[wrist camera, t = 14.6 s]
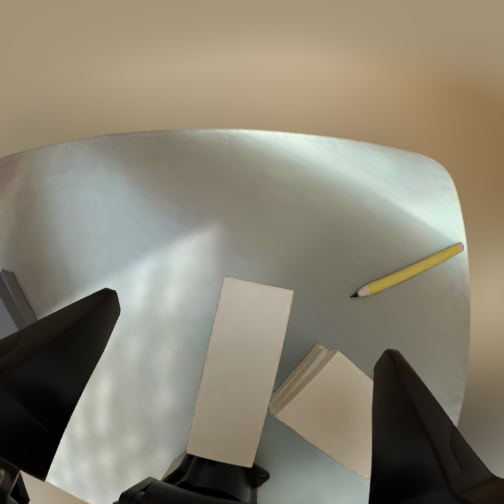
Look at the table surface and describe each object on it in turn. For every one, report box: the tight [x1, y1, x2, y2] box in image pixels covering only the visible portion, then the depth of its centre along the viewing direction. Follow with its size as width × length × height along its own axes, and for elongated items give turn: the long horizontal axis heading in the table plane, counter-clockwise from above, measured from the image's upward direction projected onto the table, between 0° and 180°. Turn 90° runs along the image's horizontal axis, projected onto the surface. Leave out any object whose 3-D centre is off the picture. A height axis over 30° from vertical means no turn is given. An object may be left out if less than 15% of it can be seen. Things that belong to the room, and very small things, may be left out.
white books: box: [269, 344, 373, 479], centre depth 17 cm, size 10×6×4 cm, turn 49°
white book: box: [186, 276, 294, 467], centre depth 14 cm, size 7×2×12 cm, turn 168°
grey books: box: [0, 269, 37, 339], centre depth 18 cm, size 13×10×4 cm
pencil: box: [351, 242, 464, 297], centre depth 21 cm, size 1×14×1 cm, turn 107°
